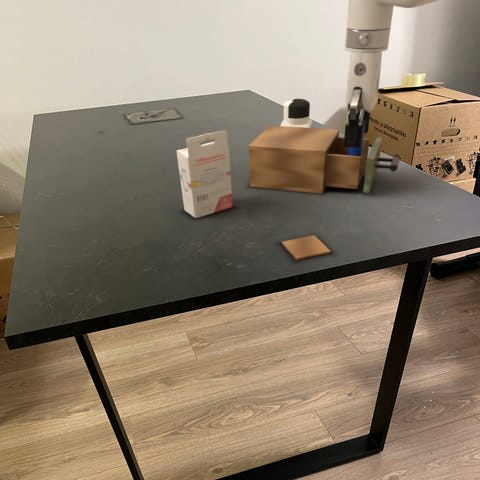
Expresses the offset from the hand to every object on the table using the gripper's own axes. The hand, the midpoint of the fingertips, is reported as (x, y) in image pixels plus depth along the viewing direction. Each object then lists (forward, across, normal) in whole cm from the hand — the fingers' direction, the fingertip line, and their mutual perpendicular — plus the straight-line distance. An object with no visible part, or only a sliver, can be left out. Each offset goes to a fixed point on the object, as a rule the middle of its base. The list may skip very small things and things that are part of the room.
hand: (356, 139), depth 94 cm
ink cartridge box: (+9, -20, +24) cm, 33 cm away
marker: (+7, 0, 0) cm, 7 cm away
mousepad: (+10, +35, +71) cm, 80 cm away
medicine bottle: (+9, +16, +16) cm, 25 cm away
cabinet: (+9, 0, +12) cm, 15 cm away
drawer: (+8, 0, 0) cm, 8 cm away
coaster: (+9, -30, +2) cm, 31 cm away
